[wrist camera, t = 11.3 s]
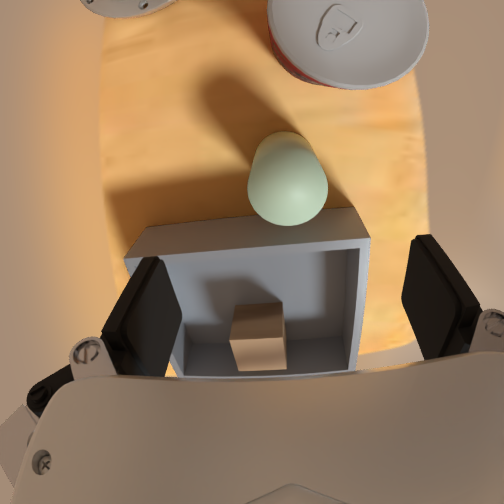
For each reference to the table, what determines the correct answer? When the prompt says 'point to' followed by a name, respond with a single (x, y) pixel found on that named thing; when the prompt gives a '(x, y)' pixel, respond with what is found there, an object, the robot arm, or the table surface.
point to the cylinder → (286, 180)
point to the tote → (264, 288)
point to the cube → (259, 337)
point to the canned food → (348, 40)
